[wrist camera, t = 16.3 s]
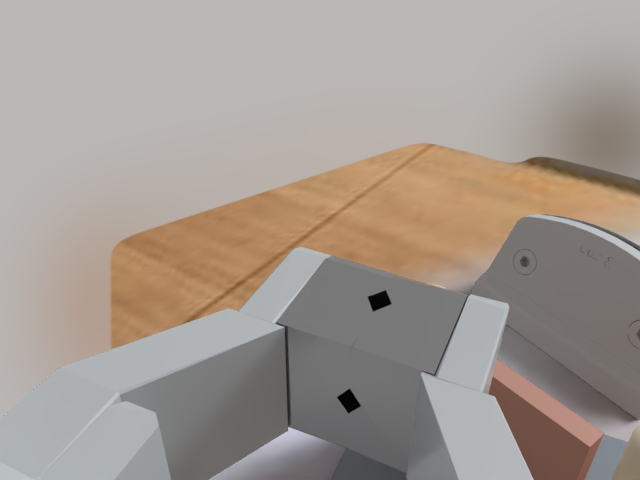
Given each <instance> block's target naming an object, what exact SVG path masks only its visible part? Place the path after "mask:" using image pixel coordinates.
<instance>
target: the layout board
mask: <svg viewBox="0 0 640 480" xmlns="http://www.w3.org/2000/svg"><path fill="white" fill-rule="evenodd" d="M627 444H628V442H625V441H622V440H619V439H616V438H613V437H610V436H607V435H603V438H602V440H601V442H600V445H599V447H598V449H597V452H596V454H595V457H594V459H593V461H592V464H591V466H590V468H589V471H588V473H587V475H586V478H585V480H611V479H612V477H613V474H614V472H615V470H616V468H617V466H618V464H619V461H620V459H621V457H622V455H623V453H624V451H625V449H626V446H627ZM406 475H407V473H405V472H402V471H400V470H398V469H395V468H393V467H390V466H388V465H386V464H383V463H381V462H379V461H376V460H374V459H372V458H369V457H367V456H364V455H362V454H360V453H357V452H355V451H353V450H350V449H348V448H347V450H346V452H345V454H344V456H343V458H342V460H341V462H340V464H339V465H338V467H337V469H336V471H335V473H334V475H333V477H332V479H331V480H407V478H406Z"/></svg>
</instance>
